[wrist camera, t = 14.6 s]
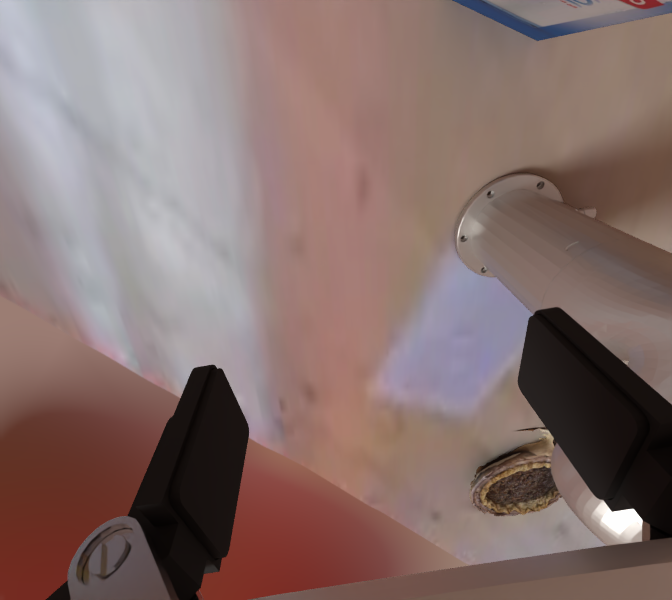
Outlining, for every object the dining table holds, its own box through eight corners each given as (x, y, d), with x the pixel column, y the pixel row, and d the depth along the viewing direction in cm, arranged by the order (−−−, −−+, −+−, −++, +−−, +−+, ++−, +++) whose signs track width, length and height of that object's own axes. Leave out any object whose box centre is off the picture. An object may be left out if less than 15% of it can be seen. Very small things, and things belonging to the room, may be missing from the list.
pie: (544, 505, 79) (557, 528, 75) (431, 504, 76) (438, 528, 72) (607, 426, 65) (628, 450, 60) (471, 422, 62) (483, 446, 57)
